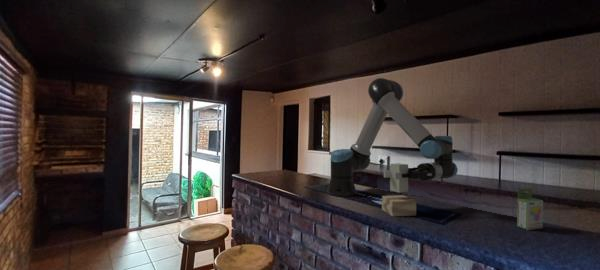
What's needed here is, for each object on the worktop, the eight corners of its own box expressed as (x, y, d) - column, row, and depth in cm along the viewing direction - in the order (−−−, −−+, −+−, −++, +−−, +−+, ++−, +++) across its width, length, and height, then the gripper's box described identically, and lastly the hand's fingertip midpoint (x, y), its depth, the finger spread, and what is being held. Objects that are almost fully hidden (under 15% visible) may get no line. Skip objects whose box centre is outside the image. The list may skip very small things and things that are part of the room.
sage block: (390, 190, 120) (390, 163, 120) (398, 189, 123) (398, 163, 123) (399, 192, 116) (399, 165, 116) (408, 191, 118) (408, 164, 118)
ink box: (528, 230, 98) (528, 191, 97) (516, 226, 101) (517, 188, 101) (543, 228, 100) (543, 190, 99) (531, 225, 103) (531, 187, 103)
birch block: (381, 209, 124) (382, 195, 124) (404, 209, 125) (404, 195, 125) (392, 216, 114) (392, 201, 114) (416, 215, 115) (416, 200, 115)
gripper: (447, 183, 120) (407, 188, 109) (412, 177, 136) (374, 181, 125) (447, 164, 119) (407, 168, 109) (412, 161, 135) (374, 163, 125)
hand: (389, 175), depth 117 cm, fingers closed on sage block, 5 cm apart
